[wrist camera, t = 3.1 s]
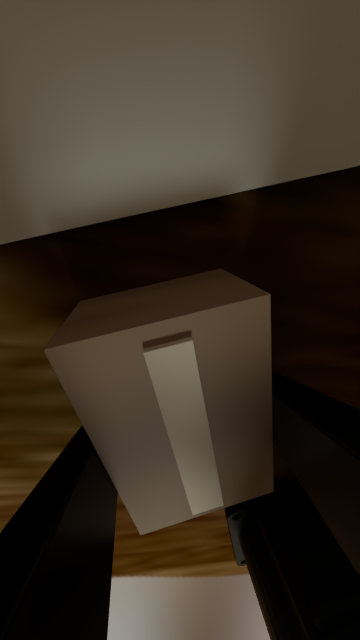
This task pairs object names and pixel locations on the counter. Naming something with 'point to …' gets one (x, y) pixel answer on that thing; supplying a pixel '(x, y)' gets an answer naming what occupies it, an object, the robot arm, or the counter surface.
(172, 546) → the counter surface
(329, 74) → the mat
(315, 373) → the counter surface
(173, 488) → the ridged brown block
